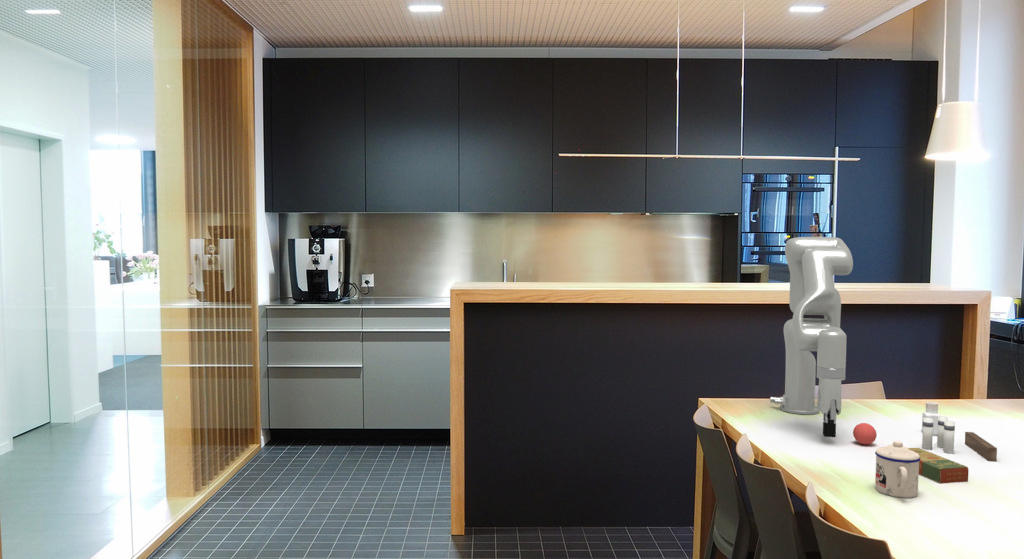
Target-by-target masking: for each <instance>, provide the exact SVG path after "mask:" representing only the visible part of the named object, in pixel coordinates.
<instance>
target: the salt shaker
mask: <svg viewBox="0 0 1024 559" xmlns="http://www.w3.org/2000/svg"><path fill="white" fill-rule="evenodd" d="M938 410H939V402H935V401H926V402H925V411H924V412H922V414H921V415H922V418H921V420H922V421H921V423H922V424H921V432H922V433H923V418H924V417H927V418H932V419H933V436H935V435H938V417H939V416H941V415H940V414H939V413H938Z"/></svg>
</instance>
